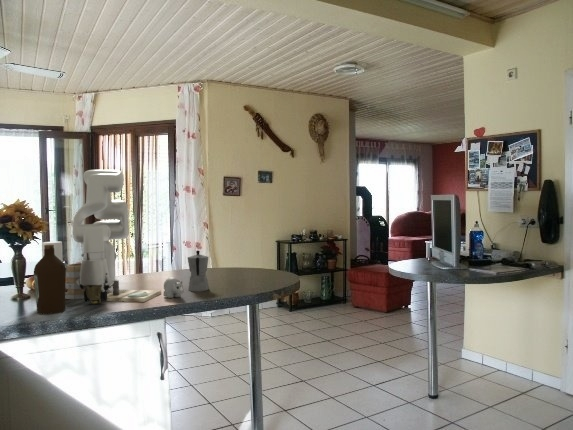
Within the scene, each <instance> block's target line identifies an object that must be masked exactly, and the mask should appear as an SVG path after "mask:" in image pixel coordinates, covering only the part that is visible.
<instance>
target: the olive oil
mask: <svg viewBox="0 0 573 430" xmlns="http://www.w3.org/2000/svg"><path fill="white" fill-rule="evenodd" d="M44 247H45V249H44V256H43V258H42V257H41V258H40V260H39V261H37V263H36V264H35V265H34V269H33V279H34V280H33V281H34V290H35V301H36V302H35V303H36V313H37V314H38V315H53V314H58V313H62V312H64V311H65V310H66V299H65V293H66V286H65V284H66V281H67V277H66V270H67V267H66V265H65V263H64V262H62V261H61V260H60V259H59V258H57V257H56V256H55V254H54V245H44Z"/></svg>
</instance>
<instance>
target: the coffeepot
mask: <svg viewBox="0 0 573 430" xmlns="http://www.w3.org/2000/svg"><path fill="white" fill-rule="evenodd" d="M195 251H196V252H195V253H196V254H194V255H191V256H188V257H186V258H187V263H188V268H189V272H190V277H189V283H188V291H190V292H193V293H194V292H205V291H206V292H207V291H208V290H209V289H210V286H209V281H208V275H207V274H206V272H207V270H208V265H209V264H208V263H209V256H208V255H203V254H200V250H198V249H197V250H195Z"/></svg>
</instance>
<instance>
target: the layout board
mask: <svg viewBox="0 0 573 430" xmlns="http://www.w3.org/2000/svg"><path fill="white" fill-rule="evenodd" d="M118 280H119V279H117V280H115V281H114V283H113V284H112V291H111V292H110V293H107V300H106V301H105V302H122V301H124V302H126V303H127V302H128V303H130V302H132V303H134V302H135V303H137V302H139V303H144V302H147V301H149V300H151V299H152V298H156V297H157V296H159V295H161V294H162V290H158V289H157V290H156V289H151V290H150V289H120V282H119V281H120V280H119V281H118ZM100 300H101V299H100Z"/></svg>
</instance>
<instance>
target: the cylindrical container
mask: <svg viewBox="0 0 573 430" xmlns="http://www.w3.org/2000/svg"><path fill="white" fill-rule="evenodd" d="M44 245H54V254H55V256H56V257H57V258H59V259H60V260H61V261H62V262H63V241H44V242H41V253H42V254H41V255H42V256H41V259H42V258H43V256H44V249H45V247H44ZM63 263H64V262H63Z"/></svg>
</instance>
